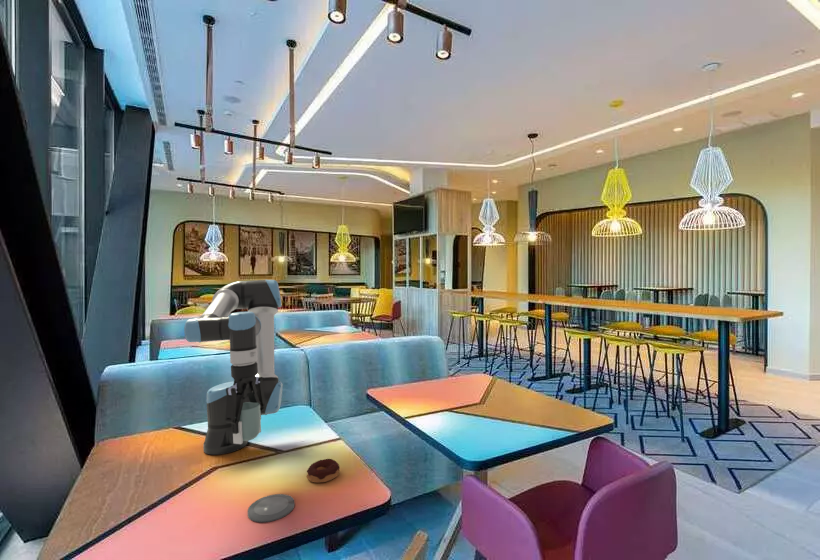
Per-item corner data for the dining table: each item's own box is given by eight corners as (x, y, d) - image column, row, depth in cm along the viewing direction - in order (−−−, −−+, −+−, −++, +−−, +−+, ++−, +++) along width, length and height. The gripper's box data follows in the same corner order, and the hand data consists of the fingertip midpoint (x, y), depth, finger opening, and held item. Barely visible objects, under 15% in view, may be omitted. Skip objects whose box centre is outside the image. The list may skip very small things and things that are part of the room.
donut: (309, 488, 120) (309, 474, 120) (304, 473, 129) (303, 461, 129) (343, 480, 124) (342, 467, 124) (335, 466, 133) (335, 454, 133)
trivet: (237, 518, 106) (237, 515, 106) (266, 494, 117) (266, 491, 117) (277, 525, 102) (277, 521, 102) (303, 499, 114) (302, 496, 114)
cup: (251, 444, 119) (250, 410, 119) (228, 443, 121) (226, 409, 120) (266, 433, 127) (264, 402, 126) (243, 432, 128) (242, 401, 128)
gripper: (230, 372, 112) (234, 453, 113) (275, 356, 132) (278, 425, 132) (208, 371, 114) (212, 451, 115) (255, 355, 134) (259, 423, 135)
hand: (247, 437), depth 124 cm, fingers closed on cup, 8 cm apart
